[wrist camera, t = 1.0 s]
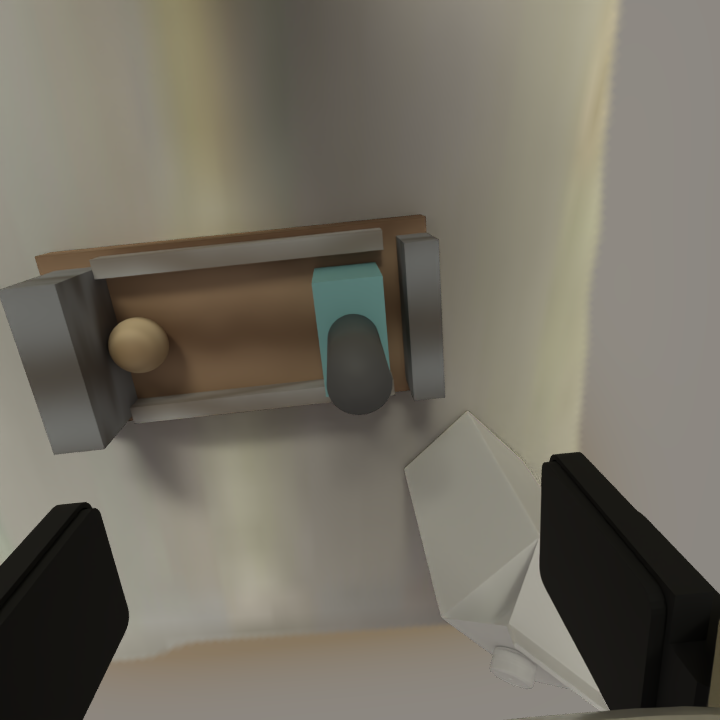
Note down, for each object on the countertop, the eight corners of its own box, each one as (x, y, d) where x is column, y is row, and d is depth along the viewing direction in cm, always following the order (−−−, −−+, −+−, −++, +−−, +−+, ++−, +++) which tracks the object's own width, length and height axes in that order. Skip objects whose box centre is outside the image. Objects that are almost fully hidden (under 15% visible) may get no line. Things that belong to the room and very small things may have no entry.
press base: (50, 252, 34) (-29, 273, 27) (420, 214, 35) (445, 224, 27) (99, 413, 38) (42, 470, 31) (428, 377, 39) (452, 425, 31)
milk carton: (466, 408, 40) (577, 597, 22) (524, 461, 42) (669, 674, 24) (402, 467, 41) (457, 689, 23) (461, 515, 43) (553, 754, 25)
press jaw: (314, 268, 33) (305, 315, 22) (375, 261, 33) (398, 305, 22) (326, 368, 35) (324, 456, 24) (383, 361, 36) (408, 447, 24)
